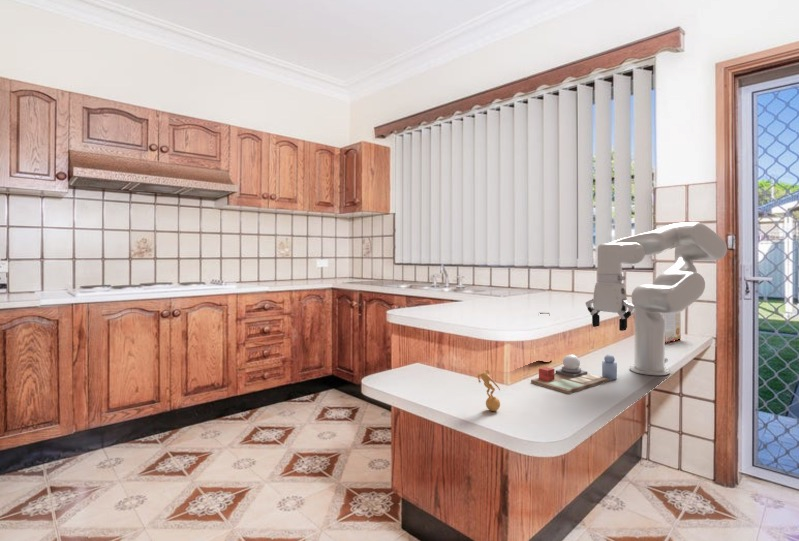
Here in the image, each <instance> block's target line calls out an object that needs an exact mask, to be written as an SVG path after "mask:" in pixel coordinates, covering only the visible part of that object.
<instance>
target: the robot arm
mask: <svg viewBox="0 0 799 541" xmlns="http://www.w3.org/2000/svg"><path fill="white" fill-rule="evenodd" d="M672 249H674V262H673V264H672V265H671V266H670V267H668V268H666V270H664V271H663V272H661V273H660V274H659V275H657V277H656V278H655V279H654V281H653V284H640V285H638V286H636V287H635V288H634V289H633V290H632V293H631V302H632V303H631V302H629V301H628V296H627V291H626V285H625V283H622V282H623V281H625V280H626V276H625V275H624V276H623V274H622V273H623V272H622V271H623V268H622V267H623V266H622V265H634V264H635V265H636V264H639V263H640V262H642V261H643V260H644V259H645V256H652V255H653V256H654V255H659V254H662V253H665V252H667V251H669V250H672ZM727 253H728V246H727V243H726V241H725V240H724V238H722V237H721V236H720V234H718V233H717V232H715V231H714V230H712V229H711V228H710V227H709V226H707V225H705V224H704V223H702V222H698V221H691V222H689V221H688V222H676V223H672V224H667V225H665V226H662V227H659V228H657V229H654V230H651V231H647V232H643V233H639V234H636V235H631V236H628V237H623V238H622V237H621V238H620V239H617V240H613V241H611V242H607V243H600V244H598V246H597V270H596V271H597V275H596V277H597V281H596V283H595V285H594V289H593V298H592V299H589V300H588V301H586V302H585V306H586V307H587V310H588V313H590V315H591V317H592V319H591V321H592V322H591V324H592V327H594V328H596V327H599V326H600V323H601V322H600V320H601V319H600V314H599V313H600V312H604V313H605V312H606V313H613V314H614V313H615V314H618V316H619V317H620V318H619V320H618V321H619V323H618V328H619V331H620V332H623V331H626V330H627V328H628V319H629V317H631V316H632V315H633V314H634V353H633V354H634V361H633V362H634V363H632V364H630V365H629V371H632V372H634V373H637V374H640V375H647V376H648V375H649V376H666V375H669V374H670V372H671V371H670V369H669V368H667V367H665V366H666V365H665V364H666V363H668V362H669V359H668V358H667V357H665V356H666V354H665V353H666V352H665V349H666V345H665V344H666V343H665V323H664V320H663V317H662V315H661V314H660V312H661V313H669V314H676V313H680V312H681V313H682V312H683V311H685V310H686V309H687V308H688V307H689V306H690V305H693V303H695V302H696V301H697V300H698V299H699V298H701V297H702V295H703V294H704V292H705V288H706V281H705V278H704V277H703V276H702V275H701V274H700V273H698V271H697V268H696V266H695V265H694V261H719V260H722V259H723V258H724V257H725V256H726V254H727Z"/></svg>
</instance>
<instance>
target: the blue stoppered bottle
mask: <svg viewBox="0 0 799 541" xmlns="http://www.w3.org/2000/svg"><path fill="white" fill-rule="evenodd" d="M603 359H604V360H602V361H601V367H602V368H601V377H605V378H608V381H615V380H614V379H616V380H617V379H618V362H616V360H615V357H614V355H612V354H606V355H605V356H604V358H603Z"/></svg>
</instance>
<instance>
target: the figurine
mask: <svg viewBox="0 0 799 541" xmlns="http://www.w3.org/2000/svg"><path fill="white" fill-rule="evenodd" d="M490 373H491V371H490V370H489V369H486V370H485V371H483V372H481V373H480V374H477V380H478V381H477V382H478V383H481V381H483V385H484V387H485V388H487V389H486V395H487V396H488V397H487V399H486V400H485V407H486V409H488V410H489V411H491V412H496V411H498V410H499V409H500V407H501V401H500V399H499V398H498V397H497V396H494V395H493V394H494V392H495V391H496V390H495V389H496V388H497V389H498V390H499V391H501V388H500V387H499V385H498V383H496V382H495V381H494V380H493V378H492V377H491V376H490ZM480 377H481V378H480ZM481 379H482V380H481ZM490 382H492V383H493V384H494V385H495V387H496V388H495V387H494V386H493V385H492V383H490Z"/></svg>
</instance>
